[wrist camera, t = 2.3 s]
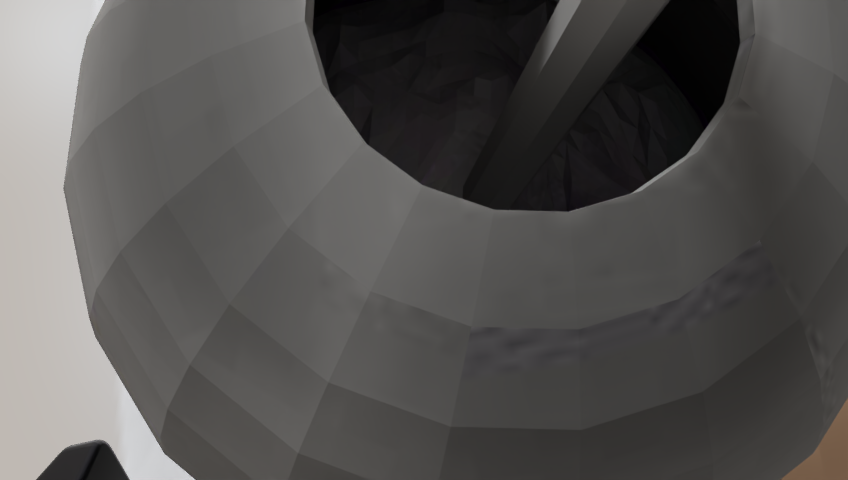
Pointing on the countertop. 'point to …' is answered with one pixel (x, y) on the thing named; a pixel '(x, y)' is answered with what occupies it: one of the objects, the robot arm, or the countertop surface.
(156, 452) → the countertop surface
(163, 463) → the countertop surface
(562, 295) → the beverage cup
